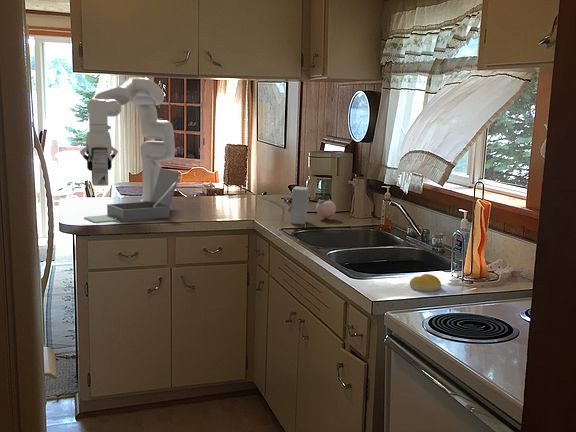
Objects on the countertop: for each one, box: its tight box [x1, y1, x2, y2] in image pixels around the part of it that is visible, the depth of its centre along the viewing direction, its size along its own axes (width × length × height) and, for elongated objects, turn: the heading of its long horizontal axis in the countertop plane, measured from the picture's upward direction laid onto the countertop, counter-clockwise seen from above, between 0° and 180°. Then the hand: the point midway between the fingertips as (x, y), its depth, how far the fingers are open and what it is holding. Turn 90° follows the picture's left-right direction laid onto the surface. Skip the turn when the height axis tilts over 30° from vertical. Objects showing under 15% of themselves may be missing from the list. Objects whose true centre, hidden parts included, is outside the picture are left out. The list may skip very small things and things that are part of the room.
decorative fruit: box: [315, 197, 337, 220], centre depth 292 cm, size 9×8×10 cm
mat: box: [83, 214, 119, 224], centre depth 277 cm, size 13×10×1 cm
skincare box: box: [290, 185, 310, 225], centre depth 282 cm, size 8×7×16 cm
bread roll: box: [409, 273, 442, 293], centre depth 186 cm, size 8×9×4 cm
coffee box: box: [91, 148, 109, 187], centre depth 273 cm, size 9×6×16 cm
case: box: [106, 168, 181, 223], centre depth 287 cm, size 20×27×20 cm
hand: (99, 169), depth 274 cm, fingers closed on coffee box, 7 cm apart
